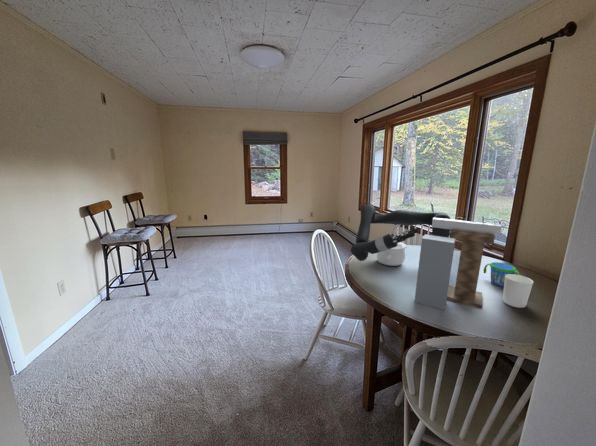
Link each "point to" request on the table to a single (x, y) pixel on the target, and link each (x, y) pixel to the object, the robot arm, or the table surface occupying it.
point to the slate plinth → (434, 270)
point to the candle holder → (516, 290)
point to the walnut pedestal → (468, 267)
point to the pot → (393, 255)
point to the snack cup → (500, 272)
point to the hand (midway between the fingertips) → (416, 231)
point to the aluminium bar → (467, 226)
